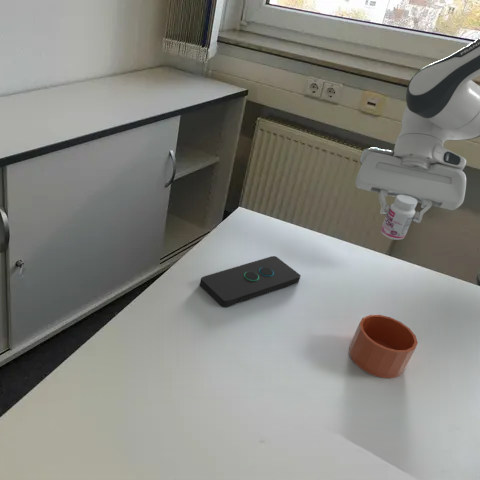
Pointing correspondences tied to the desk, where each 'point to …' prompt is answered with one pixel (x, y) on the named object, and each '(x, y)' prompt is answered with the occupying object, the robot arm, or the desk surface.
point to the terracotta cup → (382, 346)
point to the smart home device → (249, 281)
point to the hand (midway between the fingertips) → (400, 217)
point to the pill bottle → (399, 217)
